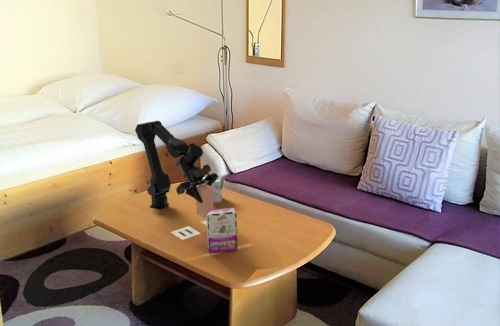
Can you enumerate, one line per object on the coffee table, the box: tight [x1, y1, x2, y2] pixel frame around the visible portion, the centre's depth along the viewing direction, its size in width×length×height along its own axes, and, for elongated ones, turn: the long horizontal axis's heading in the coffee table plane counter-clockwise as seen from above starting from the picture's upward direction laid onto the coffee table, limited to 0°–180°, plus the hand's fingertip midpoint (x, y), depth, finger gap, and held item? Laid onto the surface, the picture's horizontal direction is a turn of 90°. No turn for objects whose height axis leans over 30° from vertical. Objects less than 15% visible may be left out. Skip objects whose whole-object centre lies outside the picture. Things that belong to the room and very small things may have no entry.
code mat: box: [170, 219, 207, 241], centre depth 229 cm, size 26×15×1 cm, turn 130°
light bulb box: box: [197, 176, 223, 204], centre depth 258 cm, size 11×7×11 cm, turn 84°
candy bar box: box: [206, 207, 238, 254], centre depth 210 cm, size 11×5×16 cm, turn 101°
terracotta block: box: [195, 184, 215, 219], centre depth 226 cm, size 5×5×12 cm
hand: (207, 200), depth 225 cm, fingers closed on terracotta block, 5 cm apart
